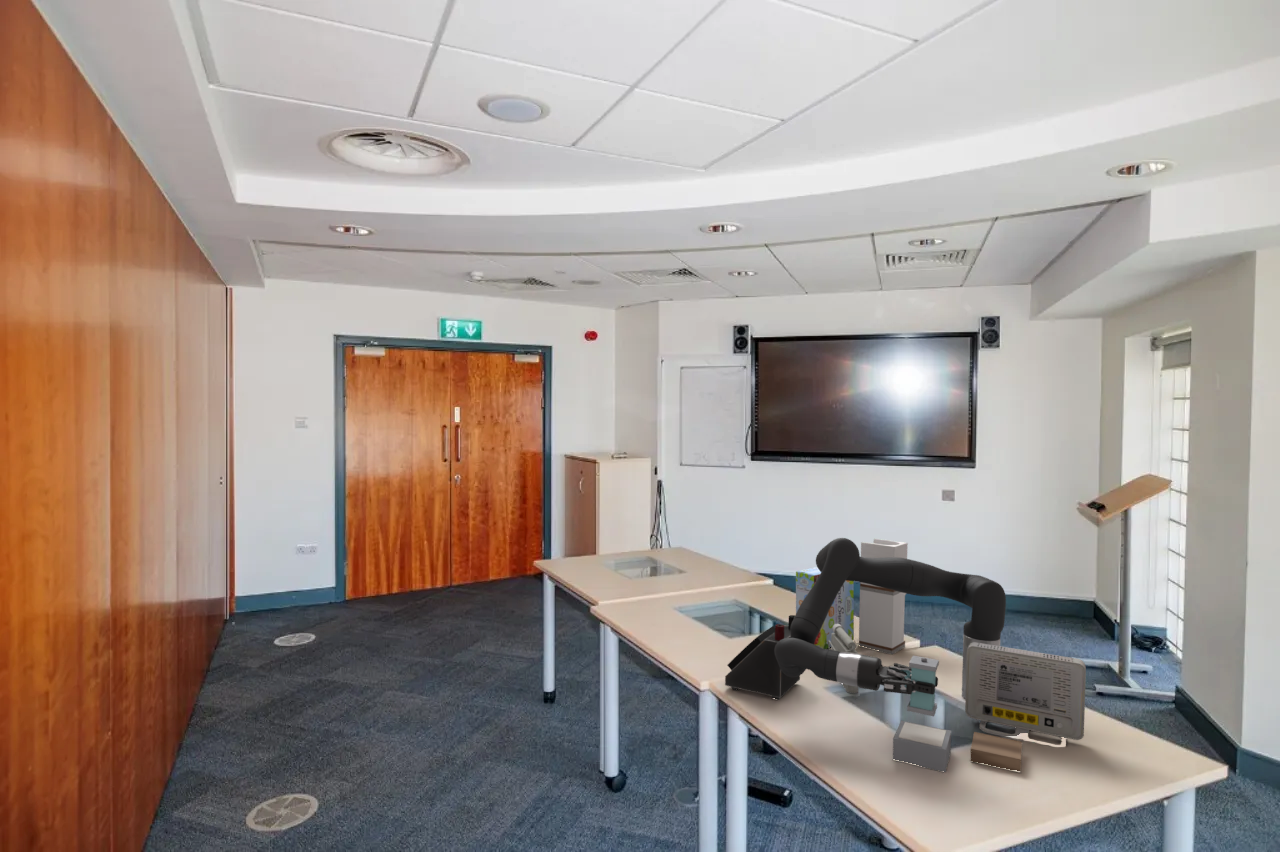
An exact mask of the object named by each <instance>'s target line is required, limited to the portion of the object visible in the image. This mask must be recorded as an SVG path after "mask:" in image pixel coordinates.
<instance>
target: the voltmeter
mask: <svg viewBox="0 0 1280 852" xmlns="http://www.w3.org/2000/svg"><path fill="white" fill-rule="evenodd" d="M795 615H796V614H794V615H793V614H790V615H789V616H788V624H787V625H786V624H785V625H784V624H781V623H779V624H778V623H777V624H775V625H773V626H771V627H769V628H768V629H766V630H765V631H763V632H761V633H760V634H759V635H758V636H756V637H755V638H754V639H753V640H752V641H750V643H748V644H747V645H746V646H745V647H744V648H743V649H742V650H741V651H740V652H738V654H737V655H736V656H735V657H734V658H733V659H732V660H731V661H729V663H728V664H727V667H728V668H729V670H730V671H729V672H728V673H727V674H726V675H725V677H724V679H725V680H724V685H725V686H726V687H729V688H730V689H731V690H732V691H734V692H737V691H739V690H742V691H744V690H745V691H748V692H751V693H757V694H762V695H766V696H770V697H771V699H772V698H775V699H779V698H782V697H783V696H784V695H785V694H786V693H787V692H788V691H789V690H790V689H792V688H793V687H794V686H795V685H796V684H797V683H798V682H799V681H800V679H801V675H800V676H798V677H789V676H787V675H785V674H784V673H783V672H782V671H781V669H780V667H779V664H778V661H777V659H776V656H775V652H774V650H775V646H776V644H777V642H778V641H780V640H782V639H784V638H790V635H791V632H790V627H791V623H792V621H793V619H794V617H795ZM793 685H794V686H793ZM779 700H780V699H779Z"/></svg>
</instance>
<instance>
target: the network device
mask: <svg viewBox="0 0 1280 852" xmlns="http://www.w3.org/2000/svg"><path fill="white" fill-rule="evenodd" d="M1086 670H1087V669H1086V663H1085V662H1084V661H1083V660H1081V659H1080V658H1075V657H1069V656H1063V655H1058V654H1057V655H1056V654H1051V653H1043V652H1038V651H1032V650H1025V649H1019V648H1013V647H1007V646H1001V645H1000V646H995V645H989V644H983V643H977V642H973V643H971V644H970V645H969V647H968V649H967V659H966V697H965V698H964V699H965V700H964V701H965V702H964V703H965V704H964V711H965V714H966V716H967V717H969V718H971V719H974V720H980V722H979V729H980V730H981V732H982V731H983V732H984V733H985V734H989V735H993V736H998V737H1003V736H1017V735H1019V734H1020V733H1029V734H1030V732H1036V733H1040V734H1044V735H1045V734H1046V735H1051V736H1055V737H1059V738H1060V737H1064V738H1067V739H1069V740H1073V741H1081V740H1082V739H1083V738H1084V737H1085V734H1084V733H1085V710H1086V683H1087V682H1086V680H1087V679H1086V678H1087V677H1086V675H1087V671H1086ZM987 723H993V724H998V725H1003V726H1008V727H1013V728H1015V727H1016V728H1015V731H1014V733H1007V732H1002V731H999V730H994V729H990V728H986V726H987ZM1029 730H1031V731H1030V732H1029Z"/></svg>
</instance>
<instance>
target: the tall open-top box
mask: <svg viewBox="0 0 1280 852" xmlns="http://www.w3.org/2000/svg"><path fill="white" fill-rule="evenodd" d="M908 544H909V543H908V542H903V541H896V540H889V539H881V538H873V543H872V542H865V541H862V542H860V557H865V558H884V557H898V558H906V559H908ZM906 595H907V593H902V592H898V591H895V590H891V589H887V588H883V587H879V586H875V585H871V584H867V583H862V582H859V613H858V614H859V619H858V620H859V622H858V646H859V645H860V646H864V647H867V648H871V649H875V650H879V651H878V652H879V653H883V654H888V655H893V654H894V655H895V654H896V653H898V652H899V651H900V650H902V649H904V648H905V647H906V641H905V638H904V637H905V607H906V606H905V605H906V604H905V603H906V602H905V601H906ZM867 648H866V649H867ZM871 649H870V650H871ZM875 650H874V651H875Z"/></svg>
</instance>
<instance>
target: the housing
mask: <svg viewBox="0 0 1280 852" xmlns="http://www.w3.org/2000/svg"><path fill="white" fill-rule="evenodd" d="M939 664H940V660H939V659H935V658H929V657H923V656H918V655H912V657H911V658H910V660H909V663H908V667H912V670H911V679H913V680H916V681H921V682H927V683H932V684H934V685H935V677H937V676H936V674H937V671H938V670H937V669H938V667H939ZM916 683H917V682H916ZM935 697H936V692H935V693H934V694H927V693H922V692H918V691H916V692H912V694H910V696H909V699H910V700H909V702H908V705H907V708H906V710H907V712H911V713H916V714H920V715H925V716H929V717H934V716H935V714H936V711H937V708H938V703H937V702H936V701H935V699H936V698H935Z"/></svg>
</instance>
